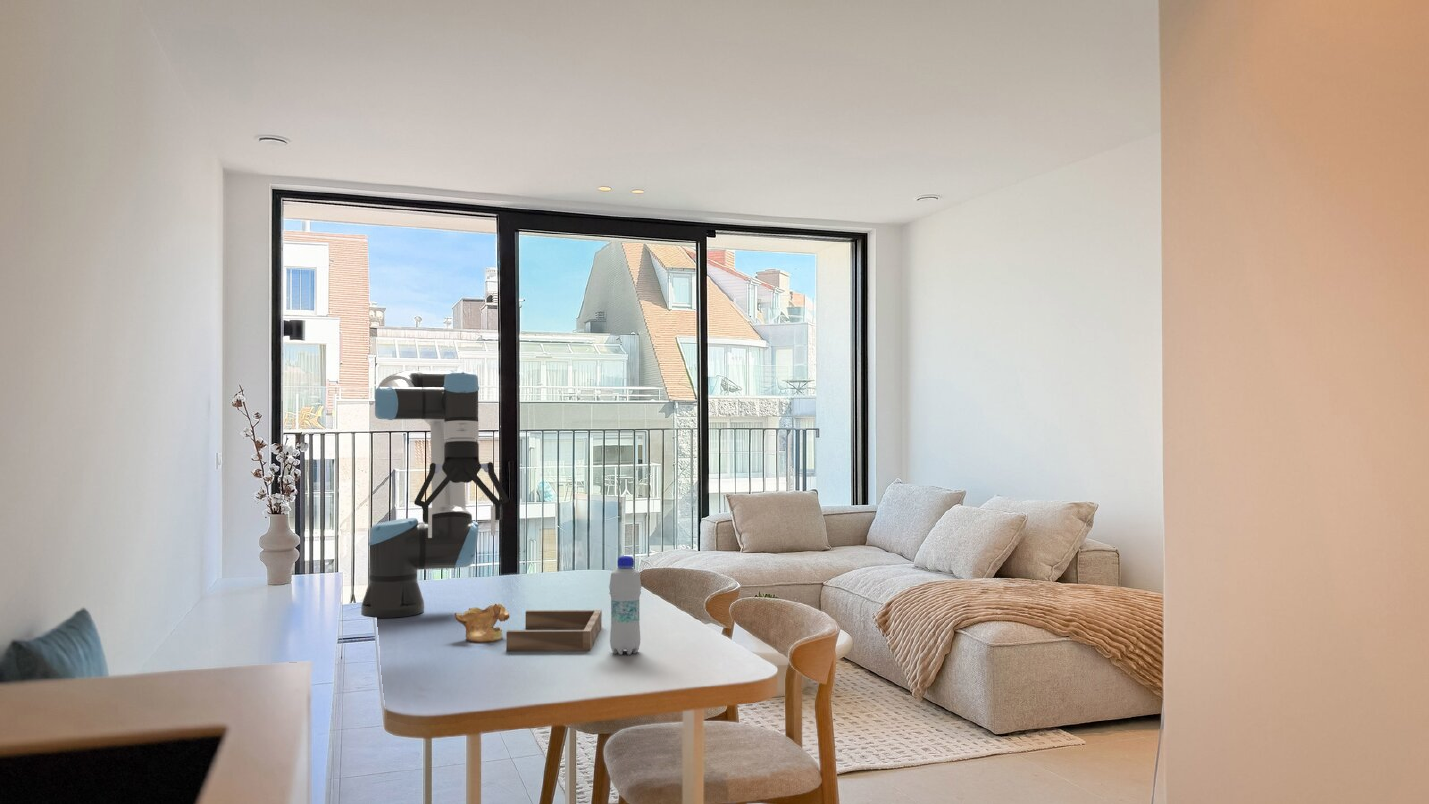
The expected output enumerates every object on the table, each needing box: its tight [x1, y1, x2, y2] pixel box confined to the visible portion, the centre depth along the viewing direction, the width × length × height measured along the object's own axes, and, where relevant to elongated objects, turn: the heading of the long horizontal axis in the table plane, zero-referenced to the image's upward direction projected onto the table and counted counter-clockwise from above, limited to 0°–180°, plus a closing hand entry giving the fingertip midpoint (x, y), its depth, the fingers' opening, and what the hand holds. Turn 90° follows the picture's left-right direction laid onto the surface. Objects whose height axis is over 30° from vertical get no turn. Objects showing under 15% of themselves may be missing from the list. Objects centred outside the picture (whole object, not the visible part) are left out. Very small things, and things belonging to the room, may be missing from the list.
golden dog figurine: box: [454, 603, 511, 644], centre depth 216 cm, size 12×10×8 cm
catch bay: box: [505, 609, 603, 652], centre depth 217 cm, size 24×18×4 cm
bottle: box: [608, 555, 642, 656], centre depth 204 cm, size 7×7×20 cm
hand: (461, 536), depth 217 cm, fingers open, 13 cm apart
